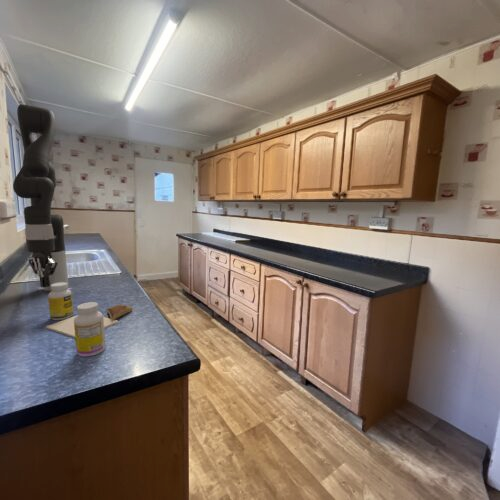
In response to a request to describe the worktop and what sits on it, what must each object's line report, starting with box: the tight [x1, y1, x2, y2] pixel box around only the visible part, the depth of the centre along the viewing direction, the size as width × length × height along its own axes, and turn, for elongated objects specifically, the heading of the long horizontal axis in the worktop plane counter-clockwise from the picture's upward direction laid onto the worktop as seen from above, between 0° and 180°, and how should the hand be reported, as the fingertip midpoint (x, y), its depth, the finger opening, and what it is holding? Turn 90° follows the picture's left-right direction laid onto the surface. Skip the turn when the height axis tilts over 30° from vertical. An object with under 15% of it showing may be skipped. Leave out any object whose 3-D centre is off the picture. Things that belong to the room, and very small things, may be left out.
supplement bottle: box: [74, 301, 106, 357], centre depth 71 cm, size 7×7×13 cm
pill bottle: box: [47, 282, 74, 321], centre depth 92 cm, size 6×6×12 cm
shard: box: [107, 304, 133, 320], centre depth 95 cm, size 11×8×2 cm
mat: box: [45, 314, 119, 339], centre depth 87 cm, size 16×13×1 cm
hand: (45, 286), depth 94 cm, fingers closed
